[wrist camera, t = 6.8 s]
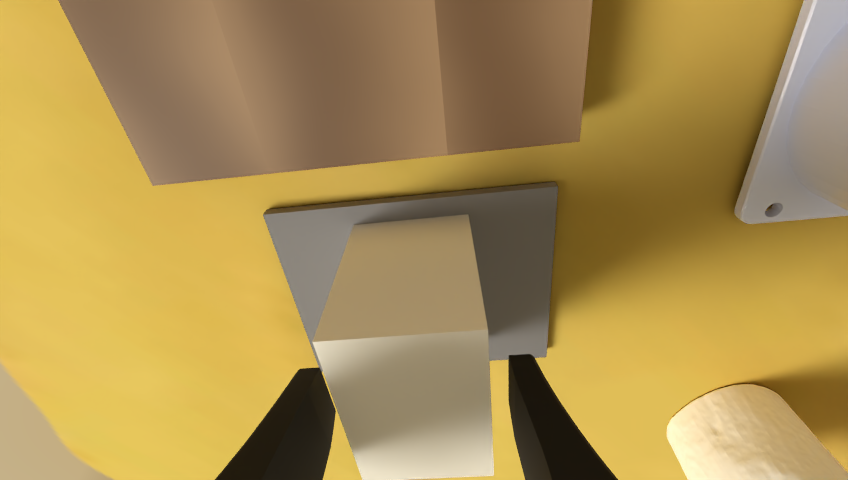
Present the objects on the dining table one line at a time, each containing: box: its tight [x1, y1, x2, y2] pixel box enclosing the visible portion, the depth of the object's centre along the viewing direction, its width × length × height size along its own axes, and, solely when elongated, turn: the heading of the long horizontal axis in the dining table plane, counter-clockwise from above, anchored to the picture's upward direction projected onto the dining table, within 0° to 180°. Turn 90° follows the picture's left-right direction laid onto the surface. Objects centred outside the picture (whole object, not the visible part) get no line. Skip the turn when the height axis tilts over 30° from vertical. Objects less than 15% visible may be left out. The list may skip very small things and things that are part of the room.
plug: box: [313, 214, 494, 480], centre depth 13 cm, size 4×6×6 cm, turn 7°
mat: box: [263, 182, 558, 372], centre depth 15 cm, size 10×8×1 cm
